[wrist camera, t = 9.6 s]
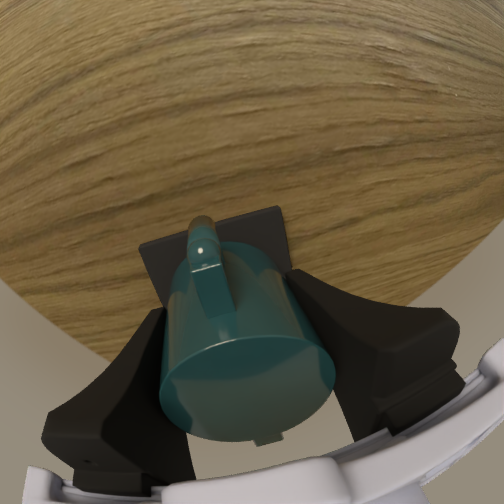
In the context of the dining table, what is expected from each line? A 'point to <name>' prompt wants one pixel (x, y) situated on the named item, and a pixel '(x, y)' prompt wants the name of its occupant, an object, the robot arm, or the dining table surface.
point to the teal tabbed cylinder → (238, 345)
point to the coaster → (232, 230)
